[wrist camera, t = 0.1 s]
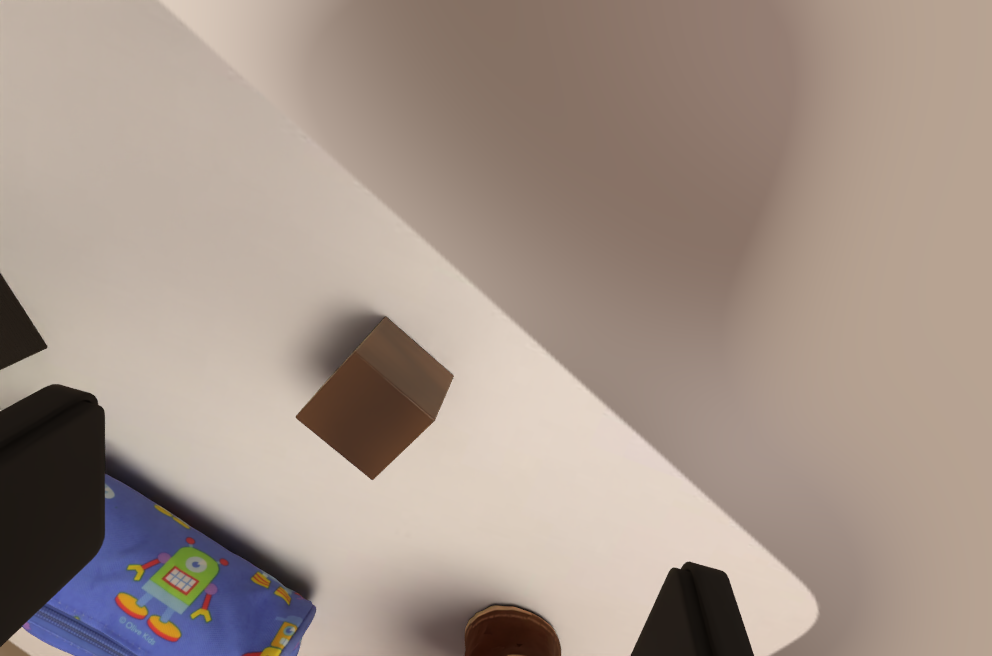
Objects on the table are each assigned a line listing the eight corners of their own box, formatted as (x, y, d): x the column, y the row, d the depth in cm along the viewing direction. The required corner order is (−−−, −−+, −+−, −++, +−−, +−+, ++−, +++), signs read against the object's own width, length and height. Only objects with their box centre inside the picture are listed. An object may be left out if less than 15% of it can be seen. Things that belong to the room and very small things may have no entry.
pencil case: (4, 485, 40) (-158, 594, 31) (42, 394, 37) (-125, 486, 28) (287, 652, 42) (211, 798, 33) (344, 579, 39) (278, 717, 30)
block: (332, 374, 34) (294, 417, 29) (385, 315, 32) (354, 351, 28) (398, 430, 35) (372, 481, 30) (454, 375, 33) (435, 420, 29)
